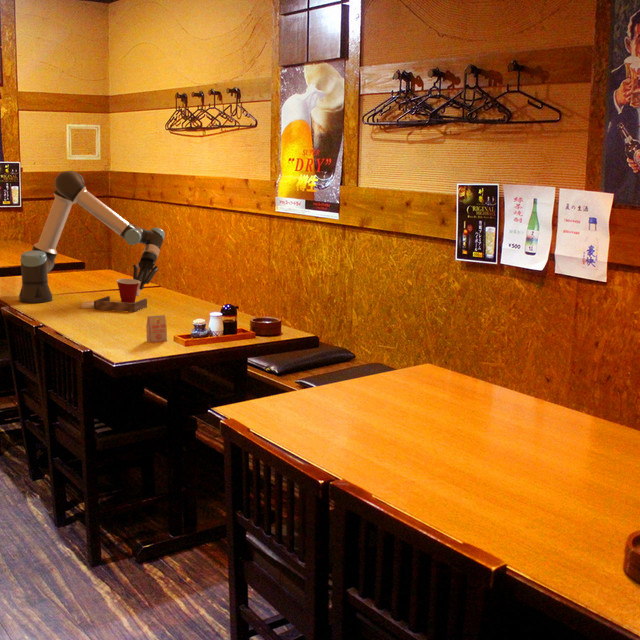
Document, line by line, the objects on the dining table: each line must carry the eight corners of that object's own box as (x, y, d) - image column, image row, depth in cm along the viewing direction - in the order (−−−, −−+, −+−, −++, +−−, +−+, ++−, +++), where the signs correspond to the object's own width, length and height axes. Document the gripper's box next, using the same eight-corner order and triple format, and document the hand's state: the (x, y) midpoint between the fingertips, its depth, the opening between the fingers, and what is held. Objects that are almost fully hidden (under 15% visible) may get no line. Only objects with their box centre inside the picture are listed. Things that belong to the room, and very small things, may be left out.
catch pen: (94, 309, 349) (93, 300, 348) (108, 304, 361) (107, 296, 360) (134, 312, 344) (134, 303, 344) (147, 307, 357) (146, 298, 356)
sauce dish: (78, 308, 352) (77, 304, 351) (86, 305, 359) (86, 301, 359) (93, 309, 350) (93, 305, 350) (102, 306, 358) (102, 302, 357)
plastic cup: (133, 307, 355) (132, 282, 352) (112, 306, 357) (111, 281, 355) (144, 303, 365) (143, 279, 362) (124, 302, 367) (123, 277, 365)
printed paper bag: (146, 341, 292) (146, 315, 289) (163, 339, 295) (163, 314, 293) (149, 343, 288) (149, 317, 286) (166, 341, 292) (166, 315, 290)
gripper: (164, 260, 379) (151, 299, 367) (140, 259, 382) (126, 298, 369) (160, 251, 373) (146, 290, 360) (135, 250, 375) (121, 289, 363)
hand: (136, 294), depth 365 cm, fingers closed
